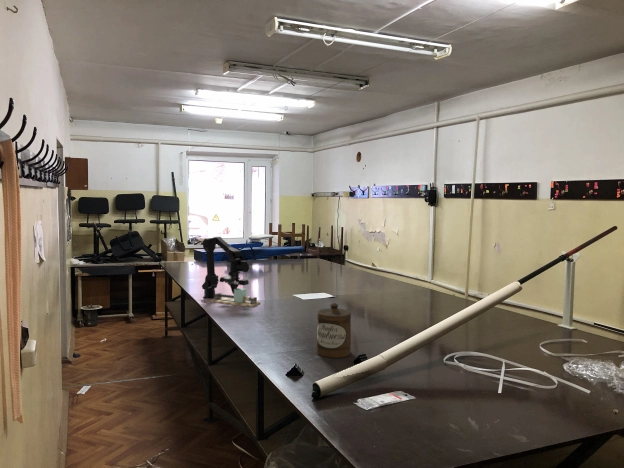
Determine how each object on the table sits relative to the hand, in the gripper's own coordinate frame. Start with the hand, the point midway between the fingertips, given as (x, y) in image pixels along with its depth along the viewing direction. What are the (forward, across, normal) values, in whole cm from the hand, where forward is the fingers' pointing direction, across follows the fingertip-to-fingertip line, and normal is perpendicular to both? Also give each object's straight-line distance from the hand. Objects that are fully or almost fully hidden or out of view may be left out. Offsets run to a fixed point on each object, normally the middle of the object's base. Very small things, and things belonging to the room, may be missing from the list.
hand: (233, 294), depth 306 cm
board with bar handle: (+5, +2, 0) cm, 6 cm away
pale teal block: (+4, +5, 0) cm, 6 cm away
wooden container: (+2, +95, -63) cm, 114 cm away
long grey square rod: (+3, +2, 0) cm, 3 cm away
